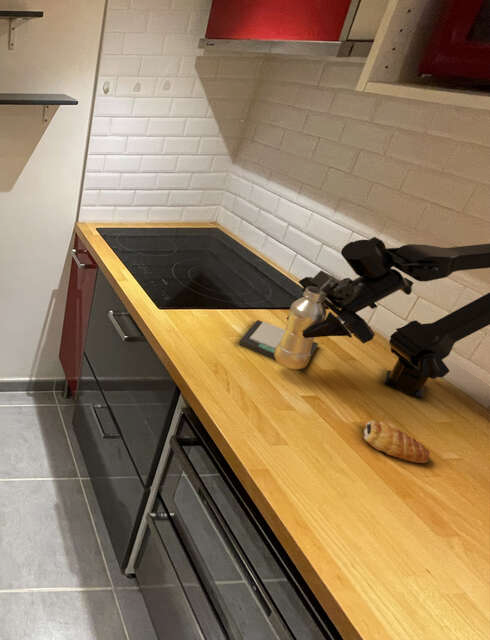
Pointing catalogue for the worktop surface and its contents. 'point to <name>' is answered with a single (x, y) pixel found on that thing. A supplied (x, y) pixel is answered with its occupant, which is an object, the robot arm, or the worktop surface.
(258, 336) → the scale
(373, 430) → the pastry
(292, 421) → the worktop surface
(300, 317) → the plastic bottle
